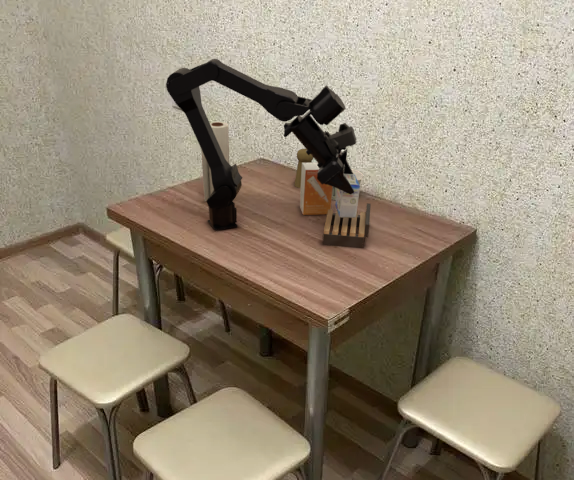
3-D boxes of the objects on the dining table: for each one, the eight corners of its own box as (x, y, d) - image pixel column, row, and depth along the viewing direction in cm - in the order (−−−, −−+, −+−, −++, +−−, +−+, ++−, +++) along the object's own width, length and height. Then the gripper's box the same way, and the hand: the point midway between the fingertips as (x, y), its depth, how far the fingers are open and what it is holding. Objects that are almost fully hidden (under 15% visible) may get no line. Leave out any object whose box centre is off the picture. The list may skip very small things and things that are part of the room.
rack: (322, 244, 147) (324, 220, 143) (326, 222, 159) (328, 200, 155) (366, 248, 146) (369, 224, 142) (367, 226, 157) (370, 203, 154)
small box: (302, 215, 162) (305, 169, 154) (299, 206, 167) (301, 161, 159) (331, 214, 163) (334, 169, 155) (326, 206, 168) (330, 161, 160)
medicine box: (334, 205, 151) (338, 173, 146) (351, 206, 152) (355, 173, 147) (339, 217, 145) (342, 184, 140) (356, 218, 145) (360, 184, 140)
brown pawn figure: (316, 184, 183) (319, 149, 176) (307, 189, 178) (309, 153, 172) (300, 180, 185) (302, 145, 178) (290, 185, 181) (291, 150, 174)
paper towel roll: (232, 196, 172) (230, 121, 160) (228, 203, 168) (226, 127, 155) (208, 194, 173) (204, 120, 160) (204, 202, 168) (199, 125, 155)
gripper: (335, 125, 127) (378, 179, 133) (341, 105, 142) (380, 154, 148) (298, 158, 133) (341, 208, 138) (307, 135, 148) (346, 181, 153)
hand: (353, 186), depth 144 cm, fingers closed on medicine box, 8 cm apart
